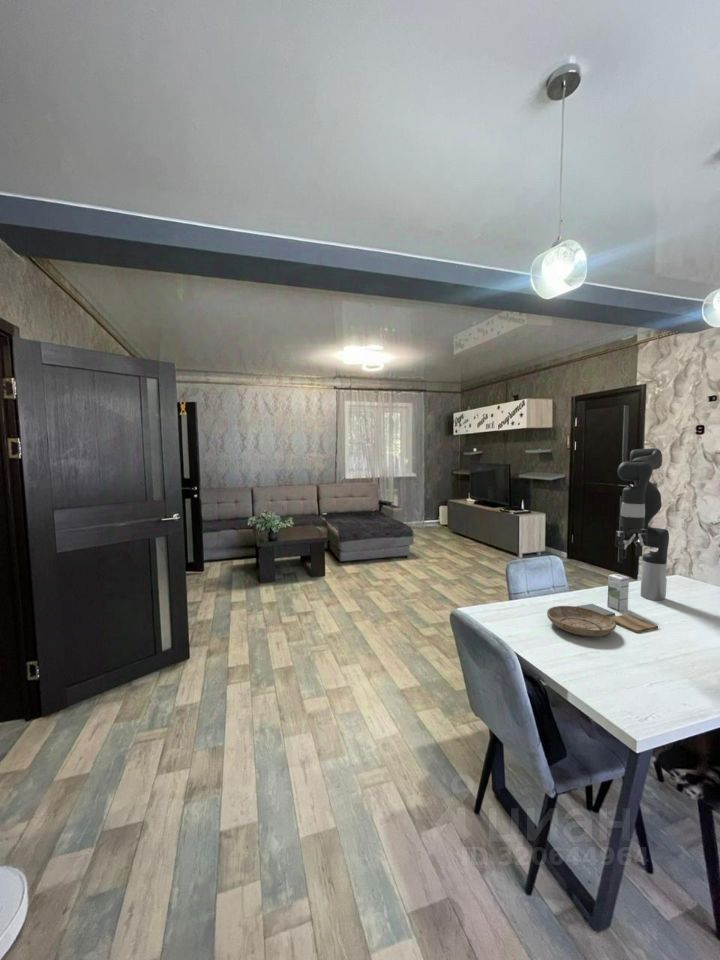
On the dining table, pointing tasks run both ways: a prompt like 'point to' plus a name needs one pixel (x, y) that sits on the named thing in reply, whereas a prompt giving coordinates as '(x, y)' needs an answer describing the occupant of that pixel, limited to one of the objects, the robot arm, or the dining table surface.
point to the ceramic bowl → (581, 620)
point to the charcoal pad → (597, 609)
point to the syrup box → (618, 592)
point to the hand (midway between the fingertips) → (630, 557)
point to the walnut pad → (633, 623)
